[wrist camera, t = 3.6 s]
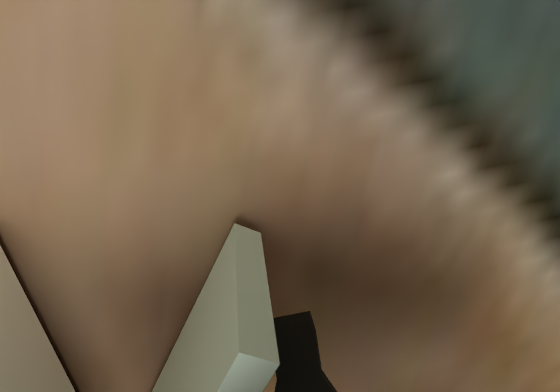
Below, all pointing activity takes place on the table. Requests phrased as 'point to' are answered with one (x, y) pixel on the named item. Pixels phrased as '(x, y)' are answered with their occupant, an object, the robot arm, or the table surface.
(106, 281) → the table surface
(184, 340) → the door
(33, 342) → the cabinet
